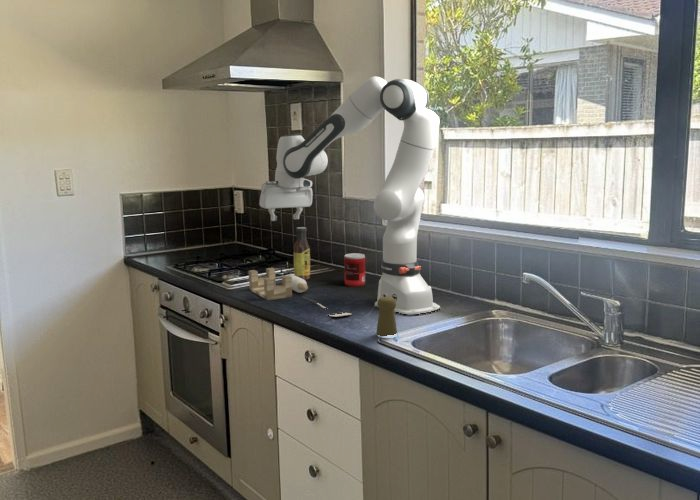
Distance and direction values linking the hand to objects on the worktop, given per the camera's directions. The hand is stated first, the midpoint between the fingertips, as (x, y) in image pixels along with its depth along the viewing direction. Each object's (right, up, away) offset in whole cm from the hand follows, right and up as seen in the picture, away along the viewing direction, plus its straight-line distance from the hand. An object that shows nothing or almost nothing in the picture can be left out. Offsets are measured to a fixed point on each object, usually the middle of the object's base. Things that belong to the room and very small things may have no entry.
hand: (285, 219), depth 236 cm
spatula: (+14, -30, -18) cm, 38 cm away
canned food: (+25, -24, +12) cm, 36 cm away
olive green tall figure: (+33, -35, -48) cm, 68 cm away
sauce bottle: (+5, -22, +21) cm, 31 cm away
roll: (+4, -25, +5) cm, 26 cm away
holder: (-5, -26, 0) cm, 26 cm away
